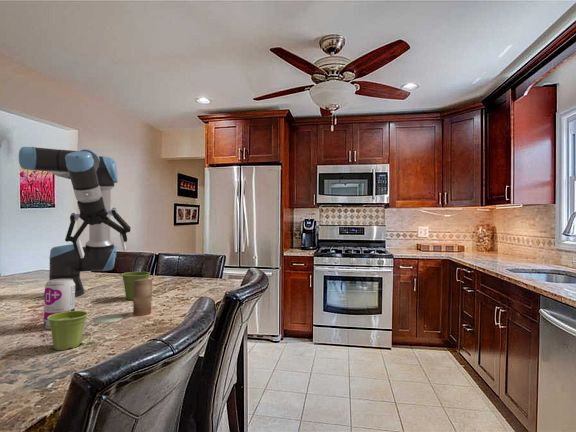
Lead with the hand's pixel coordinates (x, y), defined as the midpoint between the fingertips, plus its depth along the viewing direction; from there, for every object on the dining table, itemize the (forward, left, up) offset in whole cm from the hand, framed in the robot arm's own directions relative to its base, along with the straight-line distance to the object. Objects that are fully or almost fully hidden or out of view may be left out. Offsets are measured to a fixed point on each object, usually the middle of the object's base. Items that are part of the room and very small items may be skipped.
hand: (104, 252), depth 118 cm
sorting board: (+8, +6, -23) cm, 25 cm away
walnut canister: (+8, +11, -22) cm, 26 cm away
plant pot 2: (-23, +16, -23) cm, 36 cm away
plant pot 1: (+25, -12, -23) cm, 37 cm away
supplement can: (+3, -13, -23) cm, 27 cm away
